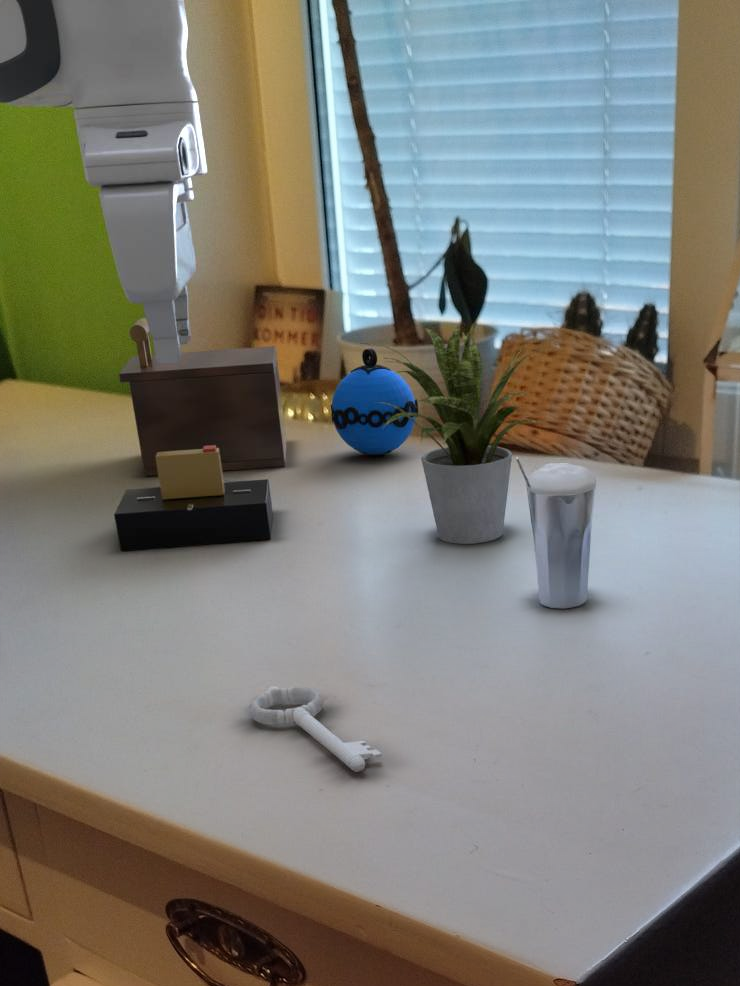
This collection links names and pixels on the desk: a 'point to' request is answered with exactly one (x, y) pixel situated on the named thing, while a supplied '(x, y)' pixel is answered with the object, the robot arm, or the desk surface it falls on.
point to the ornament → (373, 408)
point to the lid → (193, 361)
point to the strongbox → (212, 418)
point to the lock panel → (194, 517)
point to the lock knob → (190, 473)
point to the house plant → (464, 444)
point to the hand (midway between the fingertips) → (175, 352)
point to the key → (309, 722)
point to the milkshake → (561, 531)
